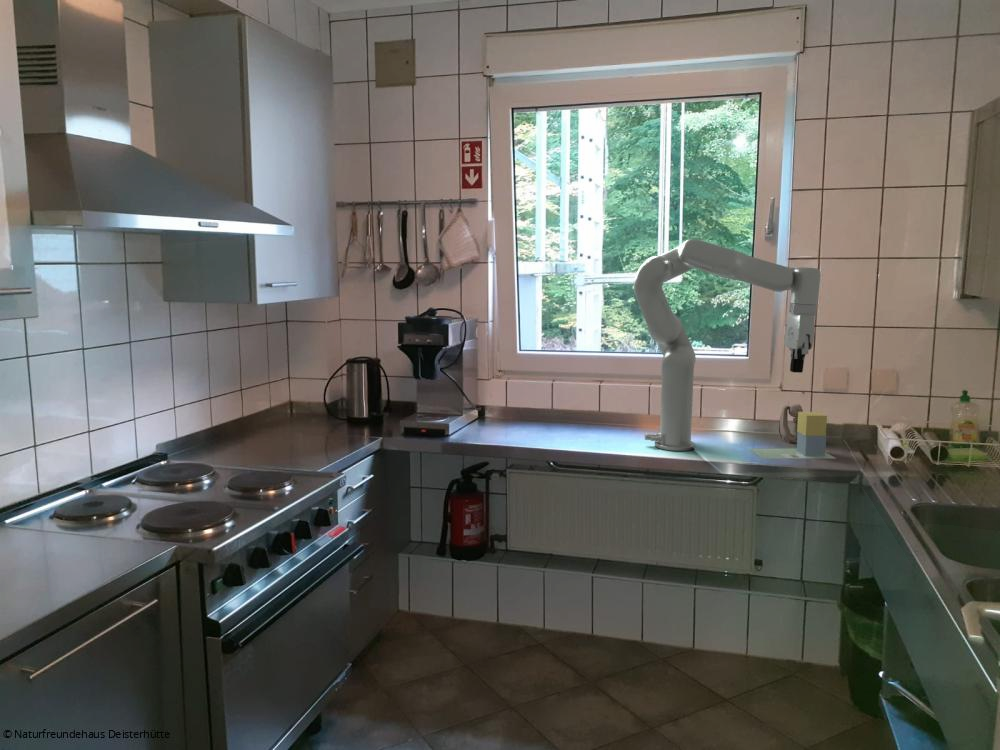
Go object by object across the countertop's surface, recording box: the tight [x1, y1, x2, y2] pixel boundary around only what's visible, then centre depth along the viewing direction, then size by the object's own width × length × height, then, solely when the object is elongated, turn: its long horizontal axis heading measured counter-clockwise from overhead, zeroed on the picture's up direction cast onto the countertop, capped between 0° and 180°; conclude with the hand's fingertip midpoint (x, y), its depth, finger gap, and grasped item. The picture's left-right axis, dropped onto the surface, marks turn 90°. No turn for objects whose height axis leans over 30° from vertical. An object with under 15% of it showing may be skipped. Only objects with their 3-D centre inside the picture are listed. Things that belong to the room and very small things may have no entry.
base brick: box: [796, 432, 827, 456], centre depth 230 cm, size 6×6×6 cm
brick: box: [797, 411, 828, 437], centre depth 229 cm, size 6×6×6 cm
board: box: [747, 448, 837, 460], centre depth 230 cm, size 22×12×1 cm, turn 93°
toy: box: [778, 401, 804, 444], centre depth 247 cm, size 9×8×15 cm
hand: (796, 371), depth 229 cm, fingers closed
